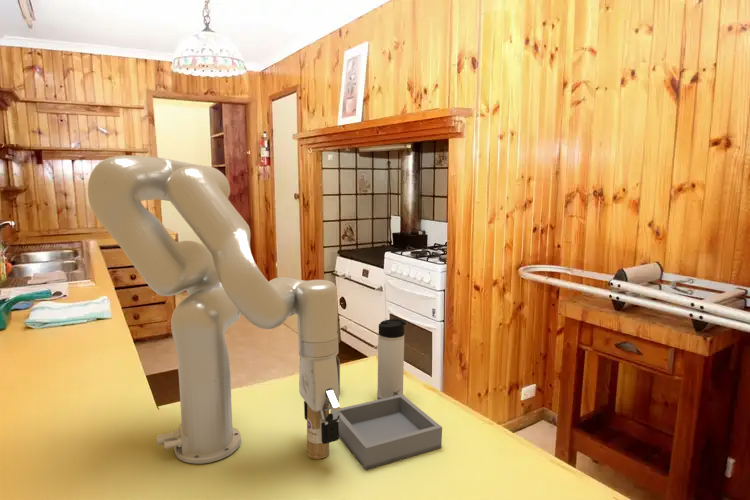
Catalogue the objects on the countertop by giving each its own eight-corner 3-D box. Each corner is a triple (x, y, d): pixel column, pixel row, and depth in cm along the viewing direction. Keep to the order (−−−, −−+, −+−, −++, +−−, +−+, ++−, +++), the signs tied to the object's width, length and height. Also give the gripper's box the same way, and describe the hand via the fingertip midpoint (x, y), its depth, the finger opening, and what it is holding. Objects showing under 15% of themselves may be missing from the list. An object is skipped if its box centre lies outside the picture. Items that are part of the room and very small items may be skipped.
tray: (365, 470, 89) (366, 448, 89) (333, 429, 103) (333, 409, 103) (441, 447, 97) (442, 427, 96) (401, 412, 111) (402, 394, 110)
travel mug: (402, 406, 114) (404, 325, 111) (375, 403, 115) (376, 323, 112) (405, 394, 120) (407, 317, 117) (380, 392, 121) (381, 315, 118)
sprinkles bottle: (301, 454, 94) (301, 389, 92) (318, 444, 98) (318, 382, 96) (317, 463, 91) (317, 396, 89) (334, 452, 95) (334, 388, 93)
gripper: (286, 335, 97) (289, 414, 100) (315, 365, 82) (318, 457, 84) (320, 329, 100) (323, 406, 103) (355, 357, 85) (357, 446, 88)
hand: (321, 429), depth 94 cm, fingers open, 9 cm apart
